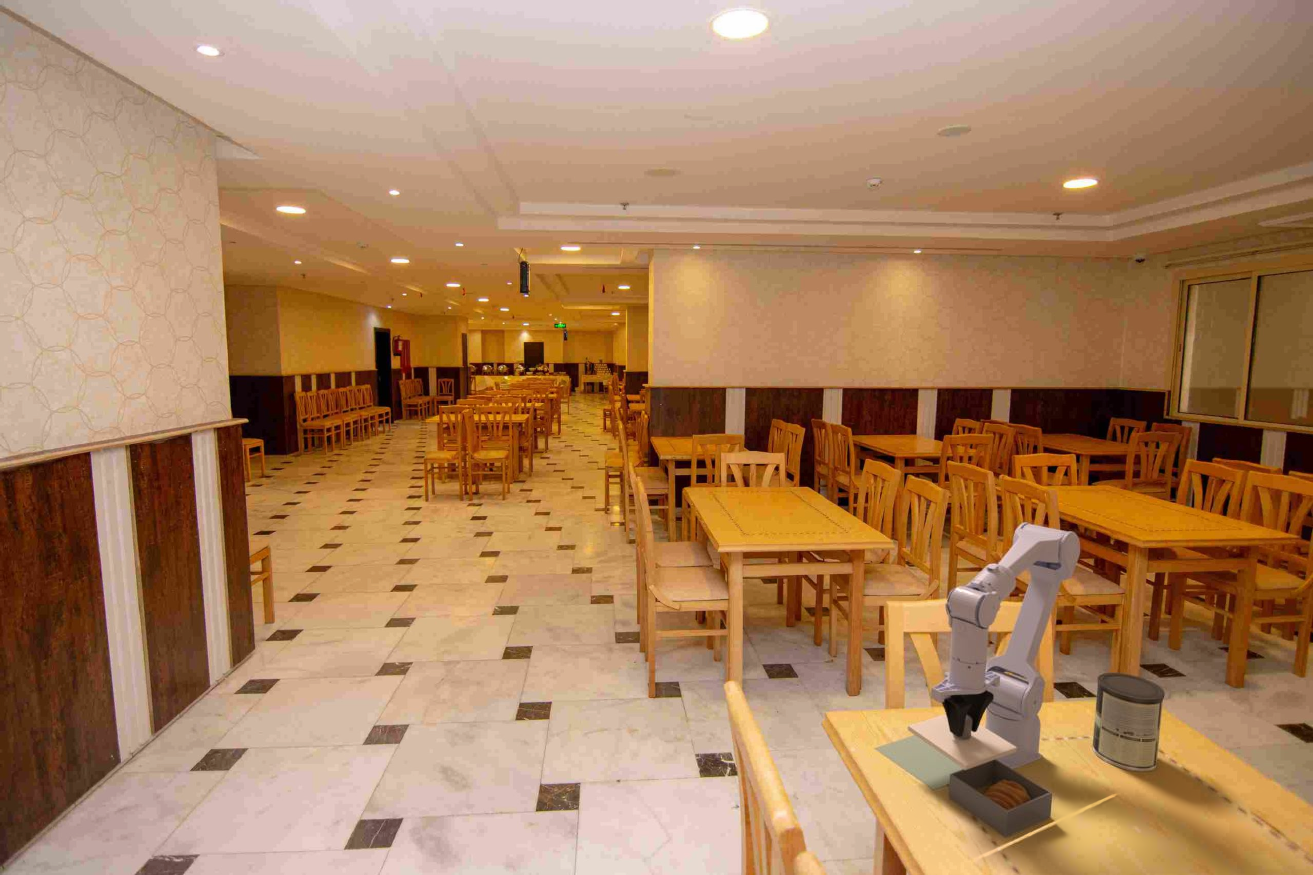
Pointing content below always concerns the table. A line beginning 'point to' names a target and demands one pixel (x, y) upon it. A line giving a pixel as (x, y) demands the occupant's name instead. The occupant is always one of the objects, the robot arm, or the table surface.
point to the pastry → (1007, 794)
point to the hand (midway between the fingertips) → (963, 731)
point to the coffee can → (1127, 721)
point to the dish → (990, 811)
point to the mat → (920, 761)
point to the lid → (962, 742)
